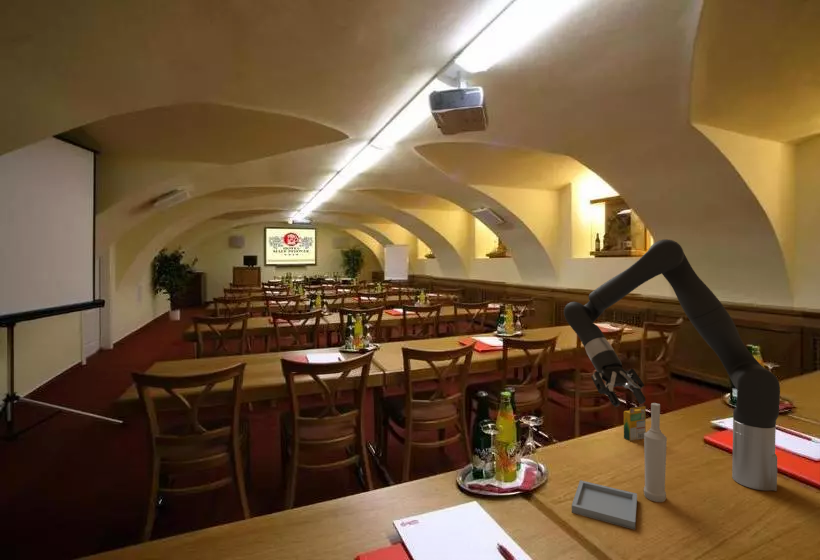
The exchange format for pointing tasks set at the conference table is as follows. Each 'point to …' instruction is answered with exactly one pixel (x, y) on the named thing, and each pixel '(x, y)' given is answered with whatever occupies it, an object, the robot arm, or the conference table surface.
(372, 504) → the conference table surface
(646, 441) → the bottle
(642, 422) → the crayon box
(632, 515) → the tray
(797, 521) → the conference table surface
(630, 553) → the conference table surface
